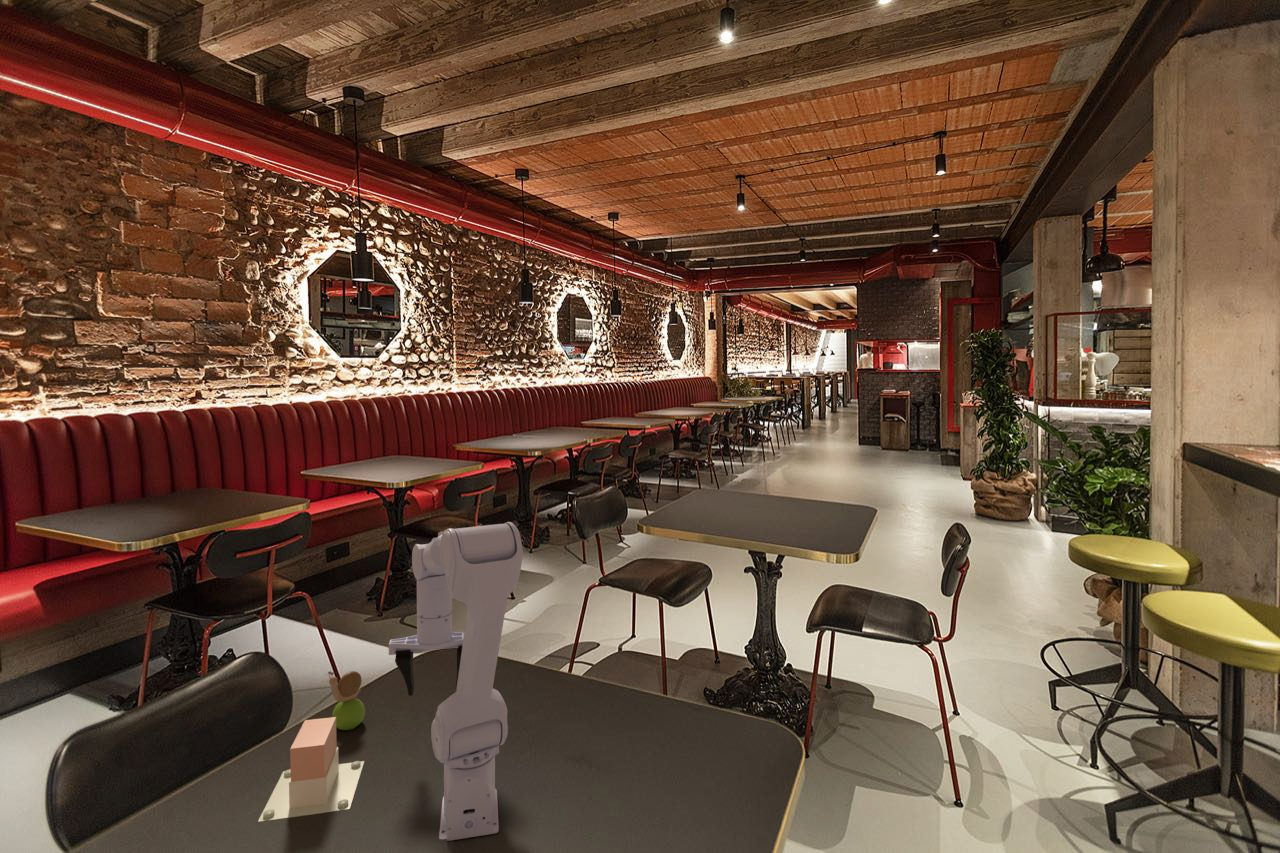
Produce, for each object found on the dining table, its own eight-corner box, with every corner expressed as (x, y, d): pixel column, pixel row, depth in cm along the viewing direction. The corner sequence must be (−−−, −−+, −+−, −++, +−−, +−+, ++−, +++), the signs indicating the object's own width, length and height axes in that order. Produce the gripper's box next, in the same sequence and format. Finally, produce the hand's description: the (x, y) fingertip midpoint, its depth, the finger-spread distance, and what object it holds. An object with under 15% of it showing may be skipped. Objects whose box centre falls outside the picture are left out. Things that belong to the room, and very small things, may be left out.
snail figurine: (320, 733, 111) (319, 668, 111) (352, 717, 117) (351, 655, 116) (340, 742, 109) (339, 675, 108) (371, 725, 115) (371, 661, 114)
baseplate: (349, 812, 91) (349, 806, 91) (257, 825, 88) (257, 819, 88) (364, 764, 103) (364, 758, 103) (283, 774, 100) (283, 768, 100)
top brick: (324, 777, 92) (324, 744, 92) (290, 781, 91) (290, 748, 90) (336, 747, 100) (336, 716, 99) (305, 750, 98) (305, 720, 98)
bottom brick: (326, 803, 92) (326, 777, 92) (289, 808, 91) (288, 782, 91) (338, 771, 100) (338, 747, 100) (304, 775, 99) (303, 751, 98)
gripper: (478, 601, 112) (478, 675, 112) (392, 607, 108) (393, 684, 109) (478, 615, 105) (478, 694, 106) (386, 622, 101) (387, 703, 102)
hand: (435, 690), depth 107 cm, fingers open, 7 cm apart
